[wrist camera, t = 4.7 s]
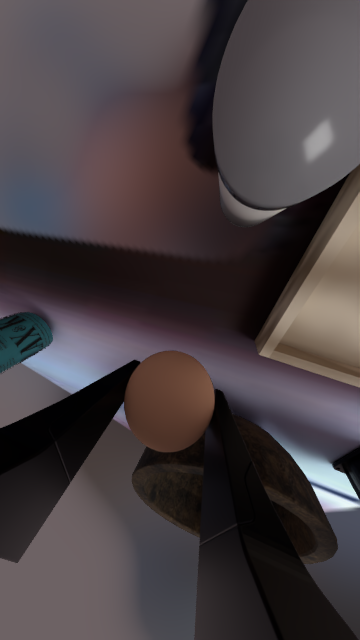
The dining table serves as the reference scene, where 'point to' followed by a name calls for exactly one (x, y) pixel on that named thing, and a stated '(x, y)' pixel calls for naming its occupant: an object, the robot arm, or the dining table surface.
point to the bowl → (274, 471)
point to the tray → (323, 298)
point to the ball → (169, 401)
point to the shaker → (286, 105)
